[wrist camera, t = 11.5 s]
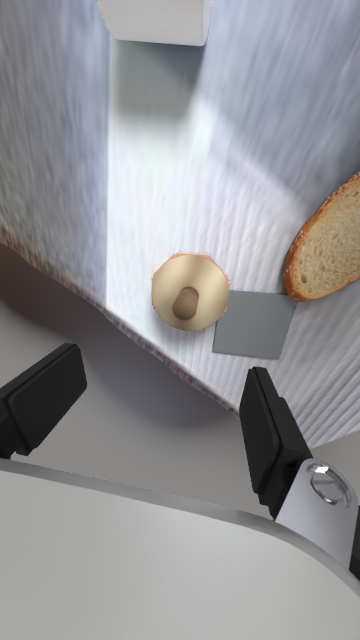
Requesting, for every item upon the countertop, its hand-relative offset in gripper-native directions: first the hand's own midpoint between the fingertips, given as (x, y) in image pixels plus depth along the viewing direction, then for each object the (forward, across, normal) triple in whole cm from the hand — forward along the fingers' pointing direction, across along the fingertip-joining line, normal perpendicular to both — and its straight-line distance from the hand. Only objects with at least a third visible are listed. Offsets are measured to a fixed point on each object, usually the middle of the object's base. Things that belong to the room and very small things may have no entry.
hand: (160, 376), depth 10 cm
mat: (+23, -11, +6) cm, 26 cm away
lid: (+18, 0, 0) cm, 18 cm away
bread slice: (+23, -22, -8) cm, 33 cm away
